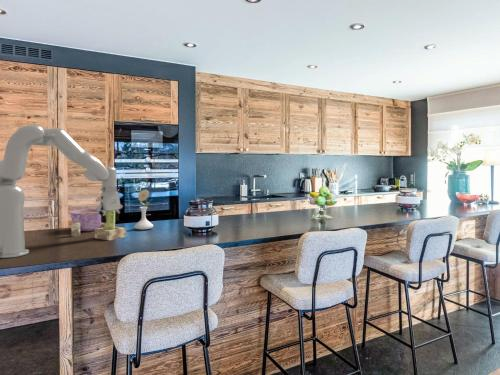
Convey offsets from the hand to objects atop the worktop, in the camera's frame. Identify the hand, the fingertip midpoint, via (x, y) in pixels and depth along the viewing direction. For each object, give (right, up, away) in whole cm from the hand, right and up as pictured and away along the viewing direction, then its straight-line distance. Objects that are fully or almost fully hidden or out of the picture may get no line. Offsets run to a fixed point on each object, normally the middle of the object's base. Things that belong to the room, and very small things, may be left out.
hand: (110, 221), depth 195 cm
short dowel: (-21, -9, +5) cm, 23 cm away
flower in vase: (+11, -7, +25) cm, 29 cm away
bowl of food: (-22, -8, +23) cm, 33 cm away
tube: (0, -9, 0) cm, 9 cm away
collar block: (0, -9, +1) cm, 9 cm away
